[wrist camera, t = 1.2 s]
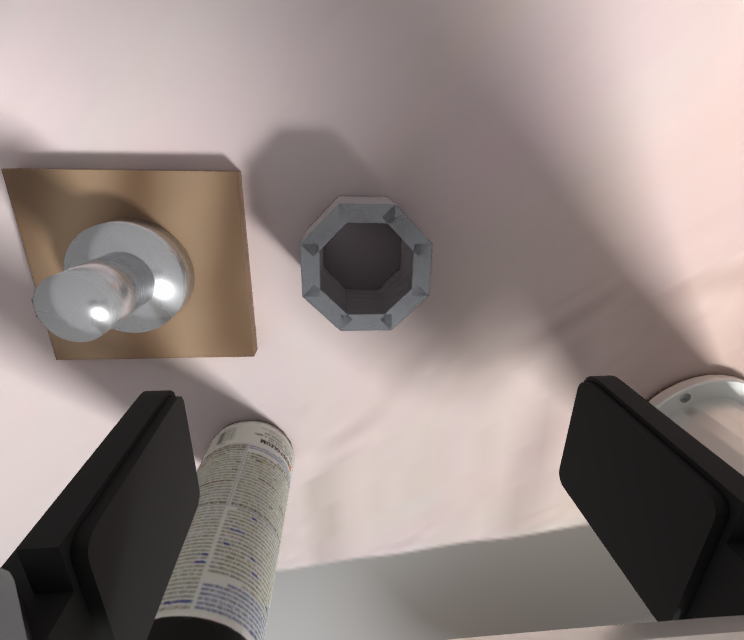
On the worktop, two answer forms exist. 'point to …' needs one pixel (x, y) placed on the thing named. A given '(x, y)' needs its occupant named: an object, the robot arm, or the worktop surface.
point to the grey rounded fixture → (116, 282)
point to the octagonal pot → (367, 304)
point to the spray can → (230, 539)
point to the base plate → (170, 211)
